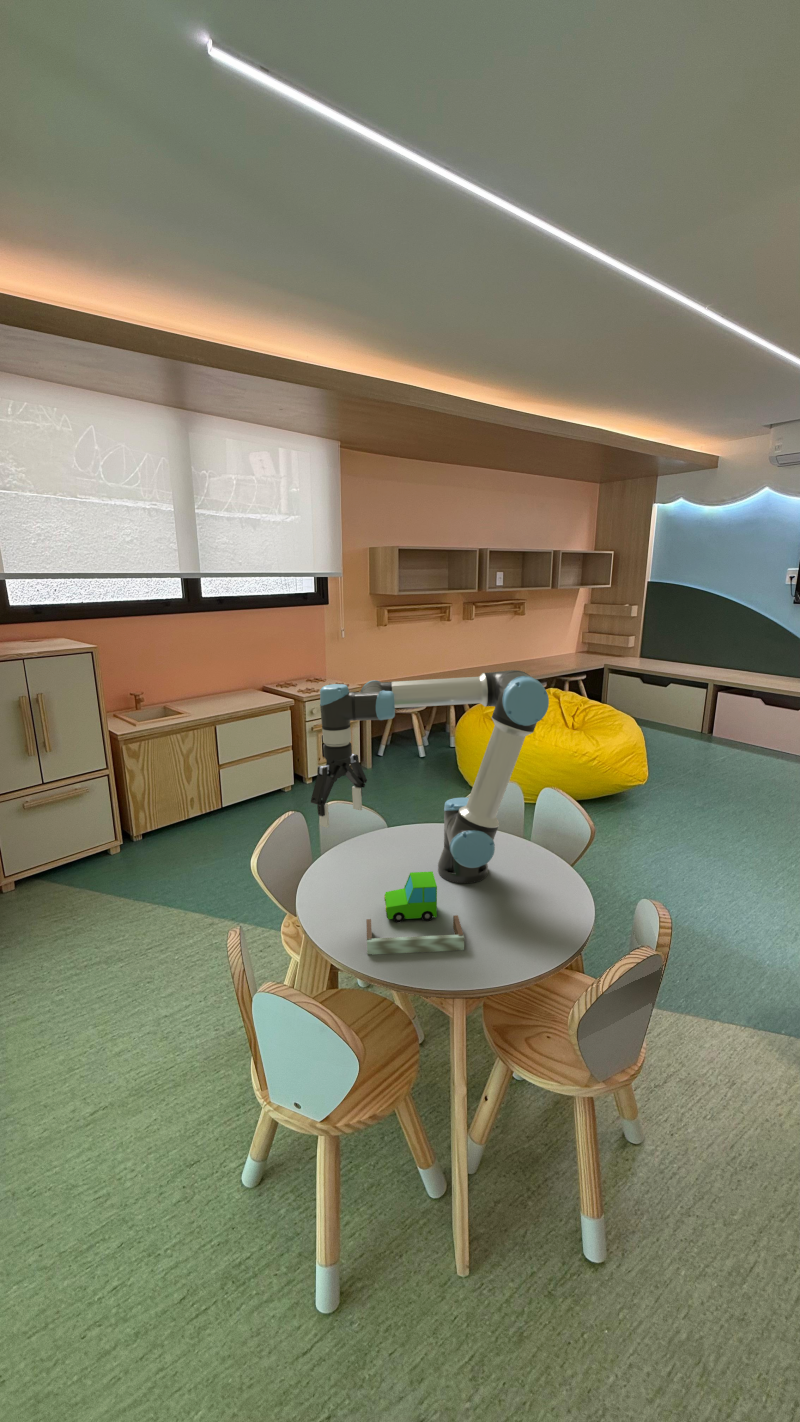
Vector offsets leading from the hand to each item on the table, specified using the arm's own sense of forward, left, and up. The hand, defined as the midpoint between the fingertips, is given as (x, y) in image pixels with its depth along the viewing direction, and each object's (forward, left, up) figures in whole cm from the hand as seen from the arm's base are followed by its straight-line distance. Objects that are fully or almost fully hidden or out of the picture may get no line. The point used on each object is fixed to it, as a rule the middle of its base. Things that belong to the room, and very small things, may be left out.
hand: (341, 817), depth 166 cm
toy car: (-18, +10, -24) cm, 32 cm away
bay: (-18, +22, -24) cm, 37 cm away
